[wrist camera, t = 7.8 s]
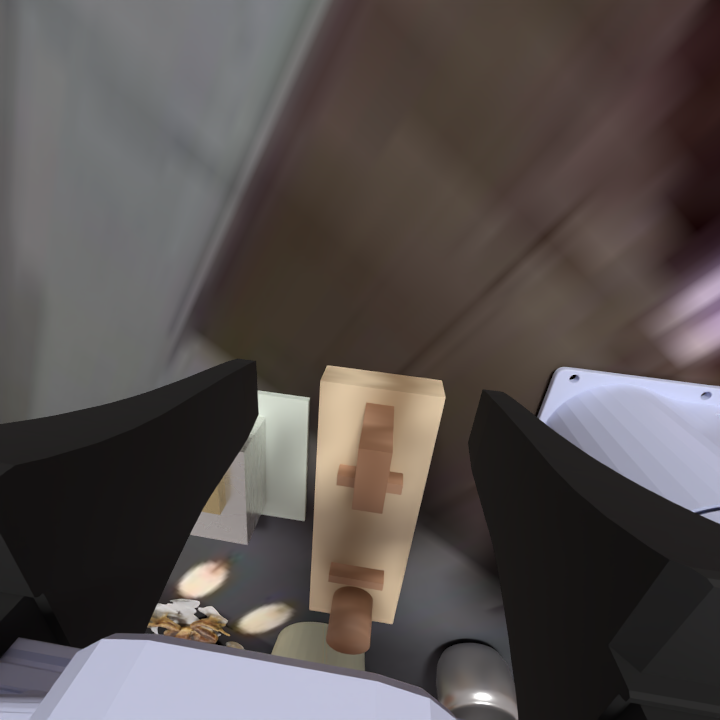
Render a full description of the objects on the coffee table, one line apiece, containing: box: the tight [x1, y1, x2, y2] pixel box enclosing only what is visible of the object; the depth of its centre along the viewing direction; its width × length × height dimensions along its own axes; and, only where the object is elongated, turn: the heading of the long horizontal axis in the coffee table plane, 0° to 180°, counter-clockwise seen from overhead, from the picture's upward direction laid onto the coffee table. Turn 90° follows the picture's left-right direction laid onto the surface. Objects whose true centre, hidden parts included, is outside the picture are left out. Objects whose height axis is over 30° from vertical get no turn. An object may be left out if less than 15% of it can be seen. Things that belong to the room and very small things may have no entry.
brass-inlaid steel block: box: [190, 416, 266, 545], centre depth 23 cm, size 5×8×4 cm, turn 173°
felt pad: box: [258, 391, 310, 521], centre depth 25 cm, size 8×11×1 cm
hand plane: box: [309, 365, 446, 655], centre depth 23 cm, size 7×22×6 cm, turn 175°
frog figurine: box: [147, 599, 244, 650], centre depth 35 cm, size 12×12×4 cm
